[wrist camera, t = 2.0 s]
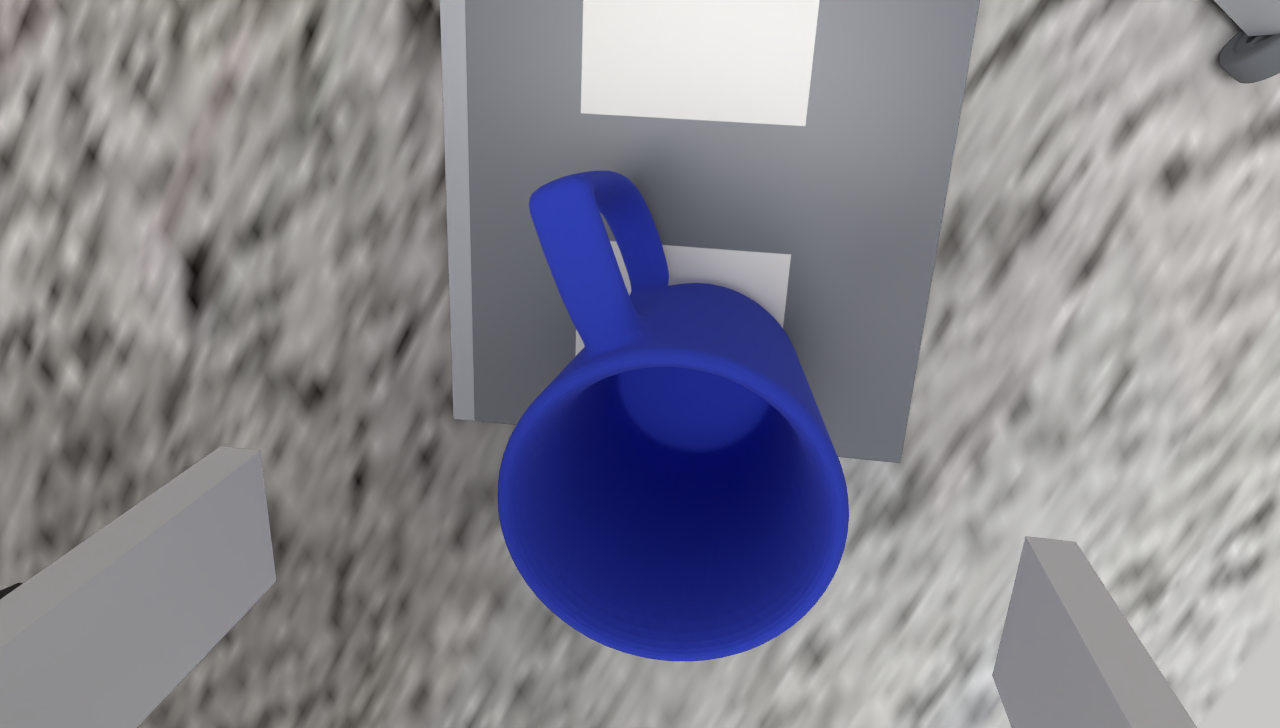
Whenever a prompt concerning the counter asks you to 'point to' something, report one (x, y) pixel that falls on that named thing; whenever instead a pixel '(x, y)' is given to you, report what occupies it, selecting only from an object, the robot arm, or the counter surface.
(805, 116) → the label panel
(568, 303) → the mug
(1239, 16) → the toy car
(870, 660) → the counter surface
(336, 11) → the counter surface
